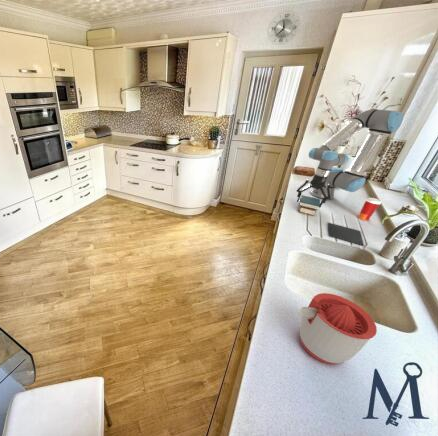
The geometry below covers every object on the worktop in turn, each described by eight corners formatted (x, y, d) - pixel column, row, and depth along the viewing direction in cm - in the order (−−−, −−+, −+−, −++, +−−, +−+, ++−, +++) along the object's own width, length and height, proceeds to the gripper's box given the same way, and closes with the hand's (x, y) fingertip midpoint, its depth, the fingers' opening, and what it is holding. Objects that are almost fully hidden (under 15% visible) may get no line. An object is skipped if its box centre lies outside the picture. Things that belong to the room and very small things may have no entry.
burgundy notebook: (300, 203, 174) (302, 198, 172) (314, 206, 170) (316, 201, 168) (298, 211, 162) (300, 206, 160) (313, 215, 158) (315, 210, 155)
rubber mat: (328, 223, 150) (328, 222, 149) (359, 231, 142) (359, 230, 142) (329, 235, 136) (329, 235, 136) (363, 245, 129) (363, 245, 129)
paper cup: (368, 217, 159) (379, 198, 152) (372, 222, 153) (383, 203, 146) (354, 214, 162) (364, 196, 154) (357, 219, 155) (368, 200, 148)
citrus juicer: (285, 317, 86) (305, 278, 76) (340, 335, 81) (370, 296, 71) (289, 357, 74) (315, 316, 64) (355, 381, 68) (394, 340, 58)
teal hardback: (300, 198, 172) (301, 195, 170) (318, 203, 166) (320, 199, 165) (298, 205, 161) (300, 201, 160) (318, 210, 156) (319, 206, 154)
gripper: (299, 172, 156) (288, 200, 166) (344, 181, 144) (329, 211, 155) (300, 169, 161) (289, 197, 172) (343, 178, 150) (329, 207, 161)
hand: (308, 204), depth 164 cm, fingers open, 13 cm apart
